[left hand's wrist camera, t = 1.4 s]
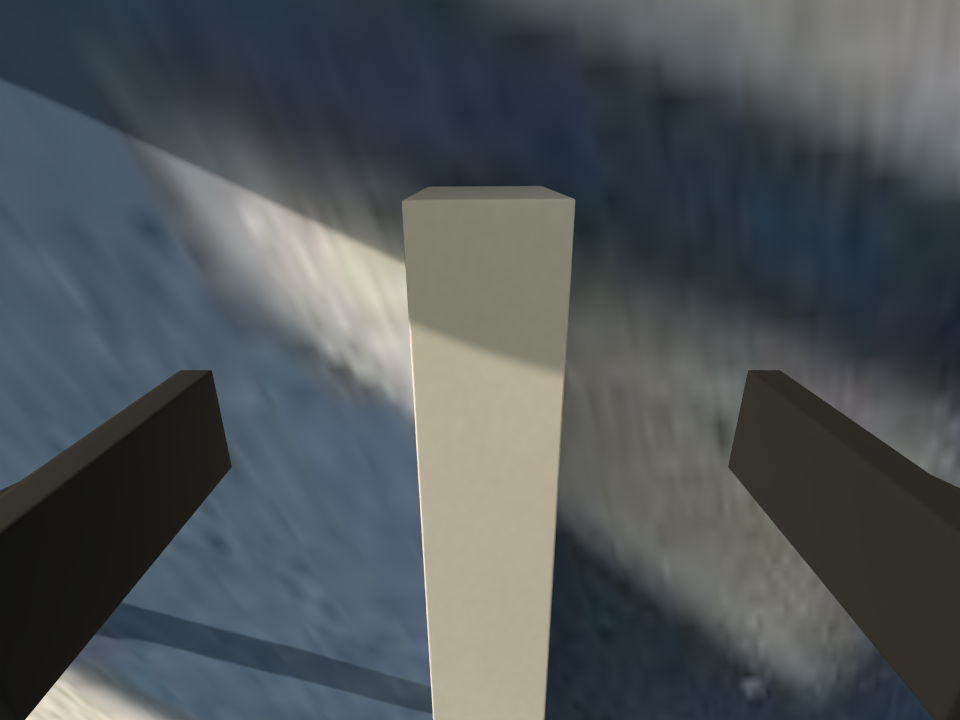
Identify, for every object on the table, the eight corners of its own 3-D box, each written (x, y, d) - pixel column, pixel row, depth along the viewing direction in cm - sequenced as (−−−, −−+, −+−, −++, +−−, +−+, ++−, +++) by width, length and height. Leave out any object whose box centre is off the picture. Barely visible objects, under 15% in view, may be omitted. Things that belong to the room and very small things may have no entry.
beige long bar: (426, 186, 24) (401, 200, 16) (543, 185, 24) (575, 198, 16) (454, 838, 43) (449, 991, 35) (519, 837, 43) (529, 990, 35)
